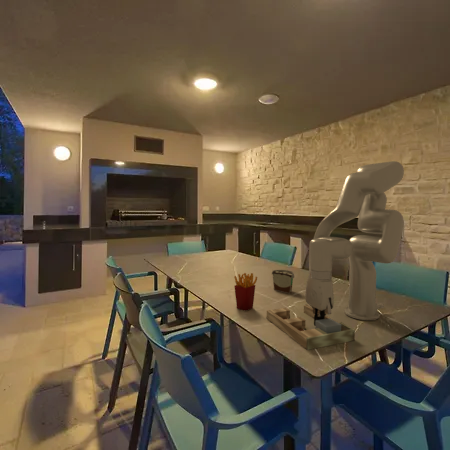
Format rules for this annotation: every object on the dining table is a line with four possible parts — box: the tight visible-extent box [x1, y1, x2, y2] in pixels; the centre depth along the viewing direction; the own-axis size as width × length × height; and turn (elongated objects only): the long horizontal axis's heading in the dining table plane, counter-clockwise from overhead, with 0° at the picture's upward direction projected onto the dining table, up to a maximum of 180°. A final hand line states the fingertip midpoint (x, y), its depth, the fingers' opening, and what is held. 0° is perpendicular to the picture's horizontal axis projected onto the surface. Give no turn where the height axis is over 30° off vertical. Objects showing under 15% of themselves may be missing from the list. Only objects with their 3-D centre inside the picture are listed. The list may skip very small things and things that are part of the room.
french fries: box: [233, 272, 258, 312], centre depth 121 cm, size 9×8×15 cm
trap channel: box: [266, 304, 356, 351], centre depth 100 cm, size 18×26×4 cm
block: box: [314, 317, 341, 334], centre depth 95 cm, size 6×6×4 cm
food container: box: [271, 269, 295, 294], centre depth 145 cm, size 12×6×10 cm, turn 47°
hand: (319, 325), depth 100 cm, fingers closed
